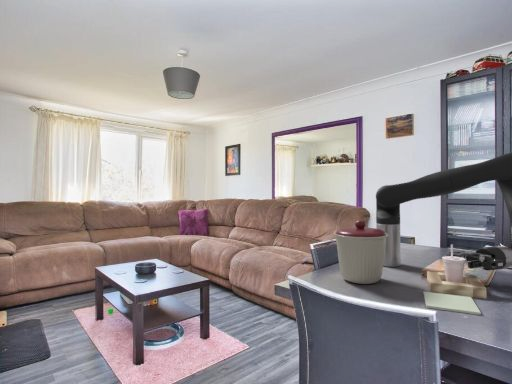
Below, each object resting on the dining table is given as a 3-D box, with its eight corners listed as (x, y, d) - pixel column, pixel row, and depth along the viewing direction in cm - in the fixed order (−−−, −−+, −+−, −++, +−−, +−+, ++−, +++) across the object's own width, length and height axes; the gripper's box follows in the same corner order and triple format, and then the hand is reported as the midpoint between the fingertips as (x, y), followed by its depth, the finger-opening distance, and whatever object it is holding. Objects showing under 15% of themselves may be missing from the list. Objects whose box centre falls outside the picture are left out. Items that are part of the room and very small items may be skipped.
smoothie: (437, 285, 100) (437, 243, 100) (455, 284, 100) (455, 242, 100) (451, 292, 93) (451, 246, 93) (471, 291, 94) (470, 246, 94)
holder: (430, 292, 93) (430, 282, 93) (427, 279, 106) (427, 271, 106) (486, 298, 87) (486, 288, 87) (475, 284, 100) (475, 275, 100)
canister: (380, 292, 94) (379, 224, 94) (326, 282, 105) (325, 221, 105) (394, 277, 109) (393, 219, 109) (345, 270, 120) (344, 216, 119)
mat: (426, 307, 82) (426, 305, 82) (423, 293, 93) (423, 291, 93) (480, 315, 77) (480, 312, 77) (471, 299, 87) (471, 297, 87)
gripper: (475, 243, 108) (437, 245, 104) (518, 250, 94) (477, 254, 90) (475, 264, 108) (438, 267, 104) (518, 274, 94) (477, 279, 90)
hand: (456, 261), depth 97 cm, fingers open, 8 cm apart
